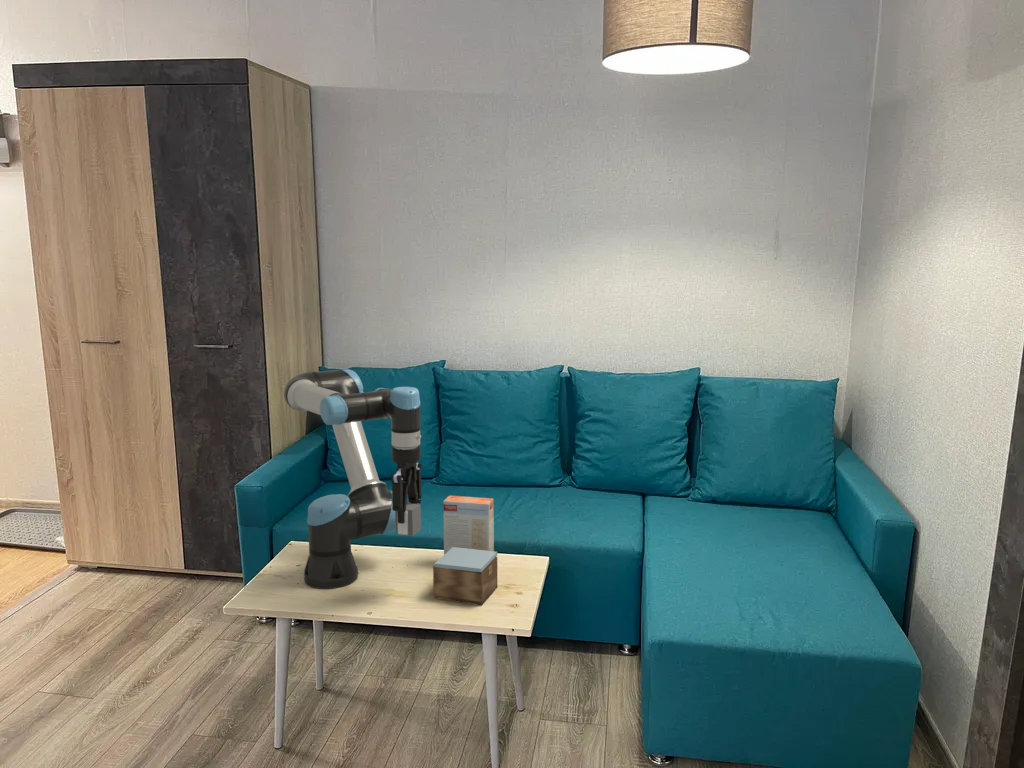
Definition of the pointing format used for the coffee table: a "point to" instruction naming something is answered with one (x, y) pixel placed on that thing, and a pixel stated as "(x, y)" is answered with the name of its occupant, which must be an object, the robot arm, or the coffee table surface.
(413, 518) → the block
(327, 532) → the robot arm
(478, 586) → the keepsake box
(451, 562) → the lid
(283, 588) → the coffee table surface
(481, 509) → the cracker box
